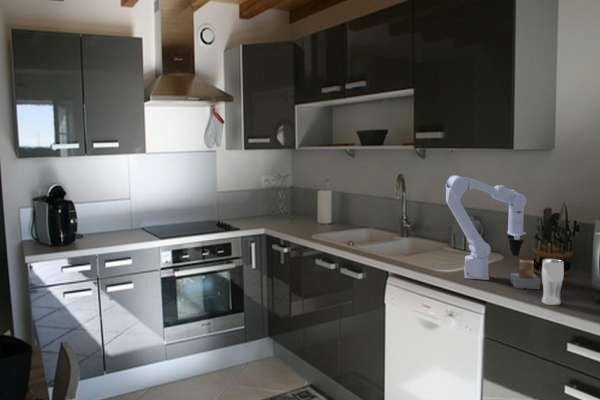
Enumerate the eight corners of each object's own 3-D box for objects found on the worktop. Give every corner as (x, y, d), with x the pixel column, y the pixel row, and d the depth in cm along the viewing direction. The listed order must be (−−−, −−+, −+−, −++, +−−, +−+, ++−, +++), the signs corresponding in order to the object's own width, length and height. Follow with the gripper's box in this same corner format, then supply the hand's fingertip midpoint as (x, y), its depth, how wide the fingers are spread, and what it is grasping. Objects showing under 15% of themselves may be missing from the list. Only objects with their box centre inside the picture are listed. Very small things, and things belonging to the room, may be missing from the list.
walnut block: (519, 277, 200) (519, 262, 199) (519, 274, 204) (519, 259, 204) (533, 278, 198) (533, 263, 197) (533, 275, 202) (533, 260, 202)
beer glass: (564, 302, 180) (566, 260, 179) (558, 307, 175) (560, 264, 173) (543, 298, 185) (545, 257, 183) (537, 303, 180) (539, 261, 178)
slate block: (514, 289, 198) (515, 279, 198) (510, 282, 207) (510, 273, 207) (539, 290, 196) (540, 280, 196) (534, 283, 205) (534, 274, 205)
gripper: (528, 224, 203) (527, 258, 205) (524, 219, 217) (522, 250, 219) (509, 223, 205) (508, 257, 207) (506, 218, 219) (505, 249, 221)
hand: (514, 253), depth 213 cm, fingers open, 7 cm apart
